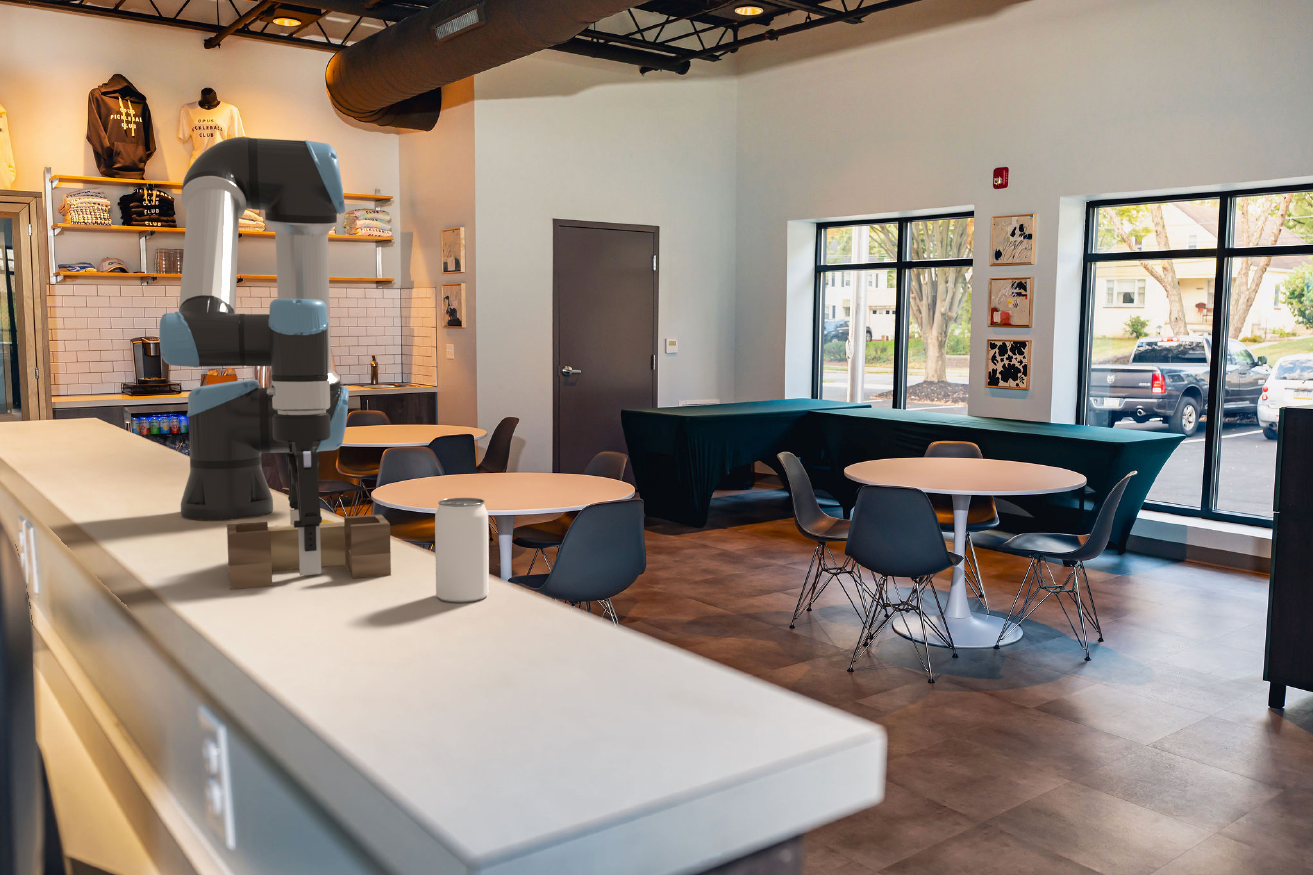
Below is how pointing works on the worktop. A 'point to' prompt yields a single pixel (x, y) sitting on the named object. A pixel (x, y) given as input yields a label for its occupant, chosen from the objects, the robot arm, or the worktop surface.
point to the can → (462, 550)
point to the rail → (288, 545)
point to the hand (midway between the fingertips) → (305, 563)
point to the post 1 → (249, 555)
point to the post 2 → (367, 546)
